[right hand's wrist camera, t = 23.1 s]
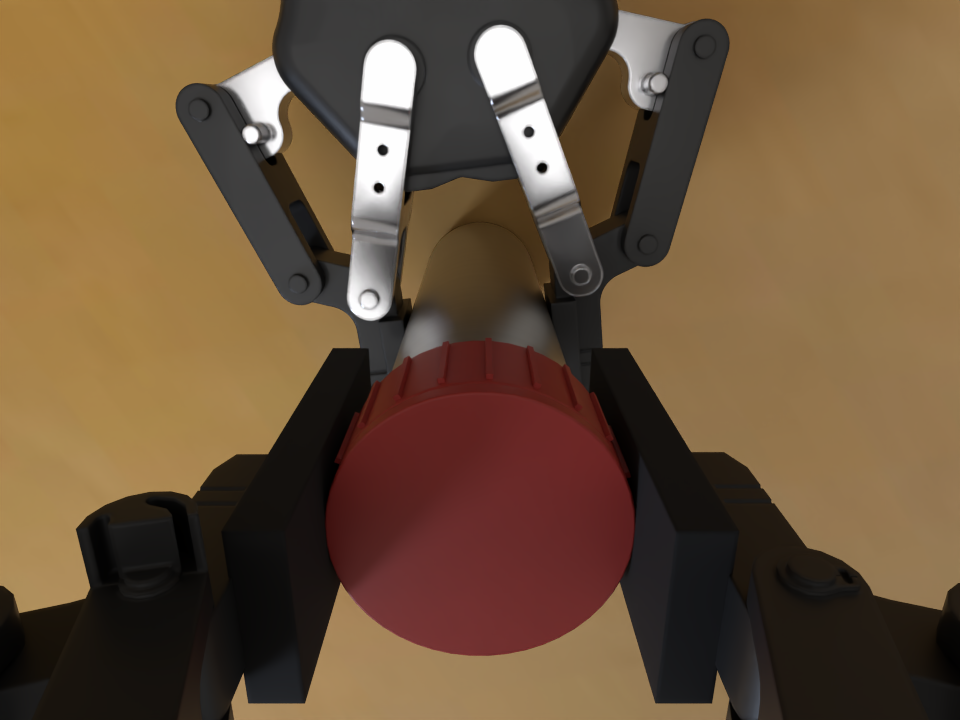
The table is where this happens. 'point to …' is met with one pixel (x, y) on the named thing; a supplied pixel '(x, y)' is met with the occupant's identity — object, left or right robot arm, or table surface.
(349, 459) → the lid
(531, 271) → the bottle
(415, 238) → the table surface
